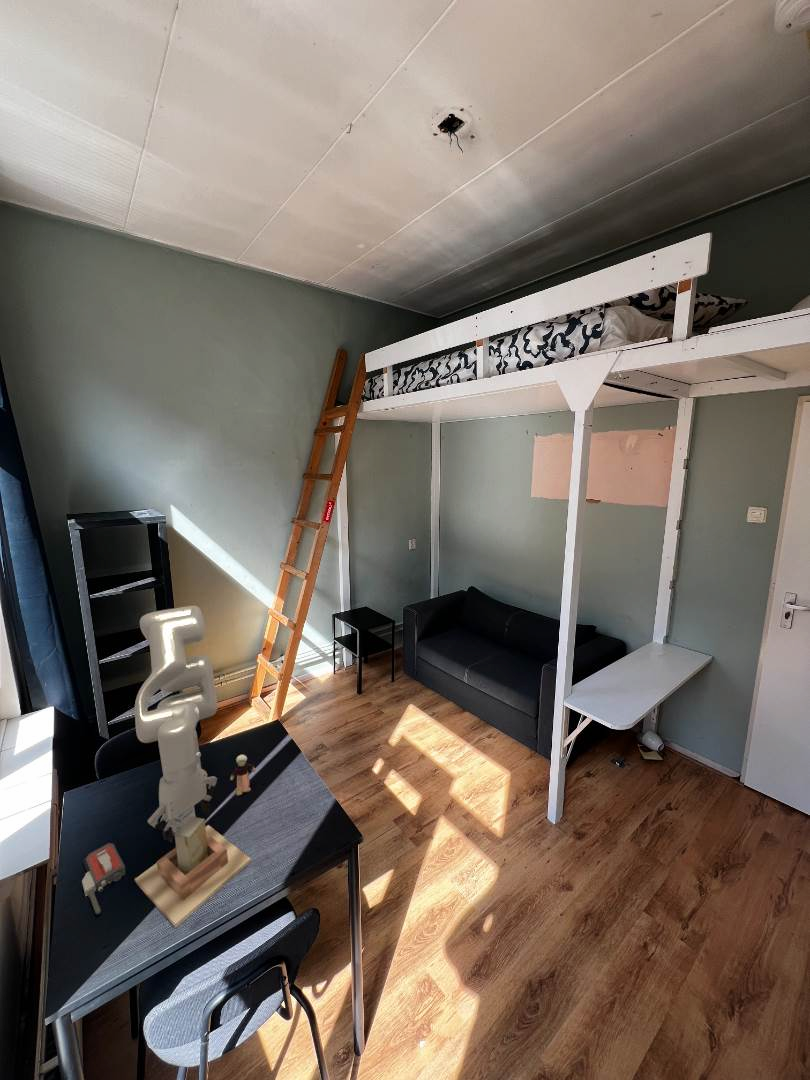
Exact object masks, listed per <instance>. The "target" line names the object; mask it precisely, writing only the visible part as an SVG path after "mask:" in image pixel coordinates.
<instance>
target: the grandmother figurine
mask: <svg viewBox="0 0 810 1080" xmlns="http://www.w3.org/2000/svg"><path fill="white" fill-rule="evenodd" d="M235 760H236V763H237V766H235V768H234V770H233V771H232V772H231V775H230V779H229V780H230V781H233V780H234V778H235V776H236V794H235V796H240V795H243V793H249V792H250V791H251V790H252V789H251V787H250V775H249V771H248V770H250V771H252V773H253V772H256V768H255V767H254V764H251V763H247V760H248V757H247V756H246V755H245V754H240V755H238V756H237V757H236V759H235Z"/></svg>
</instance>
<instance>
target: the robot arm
mask: <svg viewBox="0 0 810 1080" xmlns="http://www.w3.org/2000/svg"><path fill="white" fill-rule="evenodd" d="M139 627H140V630H141V633H142V634H143V636H144V637H145V639H146V641H147V642H148V644H149V650H150V653H149V654H150V661H151V663H150V665H151V673H150V675H149V676H148V677H147V679H145V681H144V682H143V684H142V685H141V687H140V688H139V690H138V693H137V695H136V699H135V704H134V720H135V732H136V737H137V739H138V740H139V742H141V743H144V744H148V743H149V744H150V743H153V742H157V741H158V749H159V755H160V762H161V768H162V774H163V776H162V777H160V779H159V784H158V786H159V787H158V802H159V803H158V804H159V805H158V807H157V809H156V810H155V811H154V813H152V815H151V816H150V817H149V818H148V819H147V823H148V824H149V825H150V826H152V827H153V828H154V829H156V830H159V831H161V833H162V837H163V840H164V841H168V842H169V843H170V844H171V843H173V842H174V840H175V838H174V835H173V832H172V828H171V827H170V825H171V823H172V821H173V819H175V818H176V817H178V816H179V815H181V814H182V813H184V812H185V811H187V810H188V809H190V808H191V807H193V806H194V807H195V805H197V804H198V803H200V804H199V805H200V810H201V812H202V813H203V814H204V815H206V816H210V815H211V799H212V795H213V793H214V791H215V789H216V787H215V786H216V784H217V781H218V777H216V776H215V775H214V776H213V775H212V776H208V773H207V771H206V770H205V769H203V768H202V763H201V757H202V754H201V752H200V749H199V741H198V734H197V733H198V732H197V731H196V728H197V724H198V722H199V721H200V720H203V719H207V718H210V717H212V716H214V715H215V714H216V713H217V711H218V699H217V693H216V691H217V690H216V684H215V678H214V670H213V665H212V662H211V660H210V658H209V657H207V655H196V656H192V657H186V651H185V645H190V644H194V643H199V642H201V641H203V640H204V638H205V636H206V625H205V620H204V616H203V613H202V610H201V608H200V607H199V606H197V605H187V606H181V607H175V608H167V609H162V610H156V611H153V612H150V613H149V612H148V613H146V614H144V615H142V616H141V618H140V620H139ZM194 687H199V689H195V690H191V691H188V692H187V691H186V692H183V693H179V694H178V693H177V694H175V695H170V696H167V697H166V698H163V699H162V700H161V701H160V702H158V705H157V706H156V708H155V709H153V710H149V711H148V706H149V705H148V704H149V702H150V700H151V698H152V697H153V696H154V694H156V693H157V692H158V691H159V690H160V691H161V692H163V693H174V692H177V691H182V690H185V689H190V688H194ZM163 813H164V814H163ZM161 816H162V817H161ZM160 817H161V818H160ZM167 818H168V820H167ZM159 819H160V820H159ZM166 820H167V822H166Z"/></svg>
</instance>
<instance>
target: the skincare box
mask: <svg viewBox="0 0 810 1080" xmlns="http://www.w3.org/2000/svg"><path fill="white" fill-rule="evenodd" d="M205 827H206V820H205V818H203V817H202V818H201V817H197V816H195V817H193V816H191V817H190V818H189V819H188V820H187V821H186V823H185V824H184V825H183V826H182V827H181V828H180V829H179V830H178V831H177V833H176V834H175V836H174V840H175V848H176V850H177V858H178V866H179V870H180V871H181V872H182V873H183V874H184V875H186V874H188V873H189V872H190V871H191V870H193V869H194V868H195V867H196V866H198V865H199V864H200V863H201V862H203V861H204V860H205V859H206V858H208V857H209V855H208V846H207V837H206V829H205Z"/></svg>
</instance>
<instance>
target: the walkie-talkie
mask: <svg viewBox="0 0 810 1080" xmlns="http://www.w3.org/2000/svg"><path fill="white" fill-rule="evenodd" d="M85 861H86V862H85ZM83 864H85V865H84V867H85V870H86V872H85V874H84V877H83V878H82V880H81V883H82V888H83V891H84V896H85V897H86V896H88V898H89V899H90V901H91V905H92V907H93V910H94V913H95V914H96V915H99V914H101V911H102V910H101V907H100V904H99V902H98V899H97V896H96V895H95V894H96V892H102V891H103V890H104V888H103V887H105V886H106V885H107V883H109V884H110V883H111V882H112V881H114V882H113V883H116V882H118V881H120V880H121V879H122V876H123V875H124V876H126V874H125V873H126V866H125V864H124V861H123V859H122V857H121V856H120V854H119V852H118V850H117V848H116V846H115V844H114V843H110V842H108V843H106V844H105V845H103V846H101V847H99V848H97V849H95V850H93V851H92V852H90V853H88V855H87V856H86V857H84V858H83ZM124 876H123V877H124ZM111 884H112V883H111ZM111 884H110V885H111ZM106 887H107V886H106ZM106 887H105V888H106ZM101 889H102V890H101ZM96 890H98V891H96ZM100 890H101V891H100ZM95 891H96V892H95Z"/></svg>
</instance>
